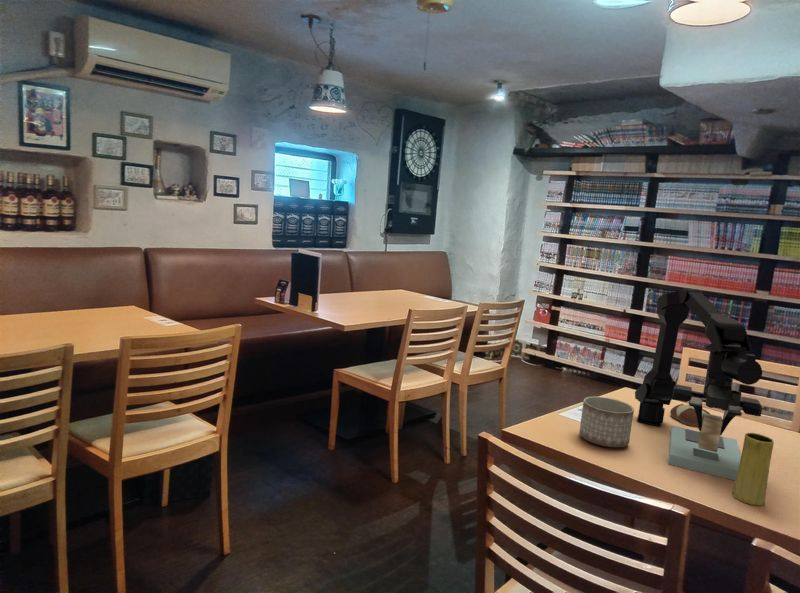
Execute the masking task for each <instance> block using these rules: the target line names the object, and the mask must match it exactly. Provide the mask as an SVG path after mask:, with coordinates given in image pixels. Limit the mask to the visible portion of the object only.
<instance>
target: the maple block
mask: <svg viewBox="0 0 800 593" xmlns="http://www.w3.org/2000/svg"><path fill="white" fill-rule="evenodd" d="M722 419H723V416H720V415H715V414H711V413H710V414H706V413H703V417H702V428H701V431H700V435H699V441H698V446H699V448H700V449H704V450H709V451H713V452H717V450H718V444H719V439H720V433H721V427H722Z"/></svg>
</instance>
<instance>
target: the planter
mask: <svg viewBox="0 0 800 593" xmlns="http://www.w3.org/2000/svg"><path fill="white" fill-rule="evenodd" d="M634 412H635V408H634V406H632V405H631V404H630V403H628V402H625V401H622V400H620V399H616V398H611V397H605V396H595V395H594V396H587V397H585V398H584V399H583V402H582V410H581V418H580V424H579V426H580V427H579V430H578V431H579V435H580V436H581V437H582V439H584V440H585V441H587V442H590V443H593V444H595V445H599V446H602V447H607V448H624V447H627V446H628V445H630V441H631V440H630V439H631V431H632V427H633V426H632V425H633V419H634Z"/></svg>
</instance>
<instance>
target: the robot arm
mask: <svg viewBox="0 0 800 593" xmlns="http://www.w3.org/2000/svg"><path fill="white" fill-rule="evenodd" d="M690 312H692V313H693V315H695V317H696V318H697V319H698V321H700V322H701V323H702V324H703V326H704V327H705V329H704V333H705V336H706V337H707V340H709V342H710V343H709V344H707V346H705V349H706V350H707V351H709V356H708V362H707V367H706V368H707V369H706V373H705V374H706V375H705V379H704V385H703V391H702V392H700V391H699V392H698V391H694V390H693V389H692V388H693V387H692V386H687V385H682V384H677V383H676V381H675V380H674V379H673V377H672V375H671V371H672V366H673V360H674V356H675V352H676V347H677V341H678V335H679V330H680V327H681V325H682V324H684V322H685V321H686V320H687V319H688V317H689V314H690ZM656 314H657V317H658V318H659V321H660V326H659V331H658V336H657V342H656V347H655V352H654V357H653V363H652V366H651V367H652V368H651V369H650V370H649V371H648V373H647V374H645V376H643V377H644V378H643V382H642V384H640V386H639V387H638V388H637V389H636V390H635V391H634V399H635V400H636V401H638V402H639V408H638V414H637V418H636V421H637V422H638V423H644V424H647V425H652V426H656V427H661V425H662V424H663V423H664V417H665V410H666V409H665V407H664V405H667V406H670V404H671V402H672V400H675V401H678V402H679V401H680V402H684V403H687V402H688V405H690V406H693V407H694V410H695V412H696V416H697V421H698V426H699V427H698V431H701V428H702V409H703V402H705V406H706V407H708V408H711V409H717V410H718V409H719V410H721V411H724V413H723V416H722V427H721V433H720V436H722V435H723V433H724V432H725V431H726V429H727V427H728V425H729V424H730V423H731V421H732V420H733V419H734V418H735V417H741V416H742V411H743V413H744V414H745V415H750V416H755V417H761V415H762V411H763V405H762V404H761V402H760V401H759V399H757V398H751V397H746V396H742V391H739V390H735V389H733V390H732V387H733V383H734V382H733V381H734V380H735V381H737V382H739V383H741V384H743V385H747V386H751V385H754V384H756V383H757V382H759V381H760V380H761V378H762V376H763V369H762V366H761V364H760V363H759V362H758V361H757V356H756V355H755V354H753V350H752V348H753V347H752V344H751V342H750V338H749V337H748V333H747V329H746V327H745V325H744V324H743V323H741V322H740V321H738V320H736V319H735V318H732V317H730V316H727V315H725V314H723V313H722V311H720V310H719V309H718V308H717V307H716V306H715V305H714V304H713V303H712V302H711V301H710V300H709V299H708V298H707V296H705V294H704V292H703V291H702V290H700V289H697V288H687V287H686V288H683V289H680V290H677V291H673V292H667V293H662V294H661V295H660V296H659V297H658V298H657V301H656Z"/></svg>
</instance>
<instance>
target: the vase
mask: <svg viewBox="0 0 800 593" xmlns="http://www.w3.org/2000/svg"><path fill="white" fill-rule="evenodd" d="M773 449H774V440H773V438H771V437H769V436H766V435H764V434H761V433H755V432H746V433H745V434H744V440H743V445H742V450H741V459H740V464H739V469H738V472H737V476H736V481H735V480H734V481H735V482H734V486H733V490H732V492H731V493H732V496H733V497H734V498H735V499H736V500H738V501H740V502H742V503H744V504H747V505H751V506H757V507H759V506H763V505H766V504H765V503H766V494H767V488H768V481H769V480H768V479H769V474H770V473H769V472H770V468H771V467H770V465H771V459H772V456H773V455H772V454H773Z"/></svg>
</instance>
